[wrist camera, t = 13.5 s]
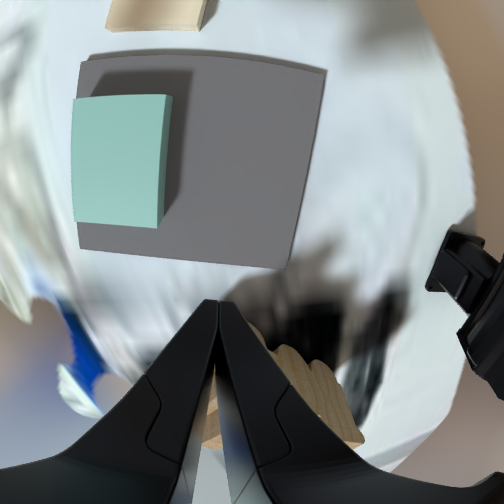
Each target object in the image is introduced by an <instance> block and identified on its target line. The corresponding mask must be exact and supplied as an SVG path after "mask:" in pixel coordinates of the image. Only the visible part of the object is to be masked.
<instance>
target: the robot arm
mask: <svg viewBox="0 0 504 504" xmlns="http://www.w3.org/2000/svg"><path fill="white" fill-rule="evenodd" d="M484 245H485V240H484V239H483V238H481V237H478V236H474V235H470V234H466V233H462V232H458V231H454V230H450V231H448V233H447V235H446V238H445V240H444V243H443V245H442V248H441V250H440V253H439V255H438V258H437V260H436V263H435V265H434V267H433V270H432V272H431V274H430V276H429V279H428V281H427V283H426V285H425V288H426V290H427V291H429V292H447V293H448V294H449V295H450V296H451V297H452V298H453V300H454V301H455V302H456V303H457V304H458V305H459V306H460V307H461V309H462V310H463V311H464V312H465V313H466V314H467V316H468V319H467V320H466V321H465V323H464V324H463V326H462V327H461V329H459V330H458V332H457V333H456V334H457V336H458V339H459V341H460V344H461V346H462V348H463V350H464V352H465V355H466V357H467V359H468V362H469V364H470V366H471V369H472V370H473V371H474V372H475V374H476V375H479V376H480V377H481V378H482V379H484V380H486V381H487V382H488V383H489V384H490V386H491V387H492V389H493V390H494V392H495V394H496V395H497V397H498V398H499V399H501V400H503V401H504V254H503V258H502V260H501V262H500V263H499V262H498V261H497V260H496V259H495V258H493V257H492V256H491V255H489V254H488V253H487V252H486V251H485V250H483V247H484ZM214 367H215V386H216V395H217V404H218V412H219V421H220V429H221V436H222V444H223V451H224V458H225V465H226V472H227V478H228V484H229V490H230V496H231V502H232V504H504V473H502V472H494V473H492V474H490V475H489V476H487V477H486V478H484V479H483V480H481V481H479V482H477V483H476V484H474V485H473V486H471V487H465V488H457V487H449V486H443V485H437V484H433V483H428V482H423V481H419V480H415V479H411V478H407V477H403V476H399V475H395V474H392V473H389V472H386V471H383V470H380V469H378V468H376V467H374V466H372V465H371V464H369V463H368V462H366V461H365V460H364V459H362V458H361V457H360V456H359V455H358V454H357V453H356V452H355V451H353V450H352V449H351V448H350V447H349V446H348V445H347V444H346V443H345V442H344V441H343V440H342V439H341V438H340V437H339V436H338V435H337V434H336V433H335V432H334V431H332V430H331V429H330V428H329V427H328V426H327V425H326V424H325V423H324V422H323V420H322V419H321V418H320V417H319V416H318V415H317V414H316V413H315V412H314V411H313V410H312V409H311V407H310V406H309V405H308V404H307V403H306V401H305V400H304V399H303V398H302V396H301V395H300V394H299V393H298V391H297V390H296V388H295V387H294V386H293V385H292V384H291V382H290V381H289V379H288V378H287V376H286V375H285V374H284V372H283V371H282V370H281V368H280V367H279V366H278V364H277V363H276V361H275V360H274V359H273V357H272V356H271V354H270V353H269V352H268V350H267V349H266V347H265V346H264V345H263V343H262V342H261V340H260V339H259V338H258V336H257V335H256V333H255V332H254V330H253V329H252V328H251V326H250V325H249V323H248V322H247V320H246V319H245V317H244V316H243V315H242V313H241V312H240V310H239V309H238V307H237V306H236V304H235V303H234V302H232V301H220V302H218V301H217V300H209V299H205V300H203V301H202V303H201V304H200V305H199V306H198V307H197V309H196V310H195V311H194V312H193V313H192V315H191V316H190V317H189V318H188V320H187V321H186V322H185V323H184V324H183V326H182V327H181V328H180V329H179V331H178V332H177V333H176V334H175V335H174V337H173V338H172V339H171V340H170V342H169V343H168V344H167V345H166V346H165V348H164V349H163V350H162V351H161V353H160V354H159V355H158V356H157V358H156V359H155V360H154V361H153V362H152V364H151V365H150V366H149V367H148V369H147V370H146V371H145V372H144V374H143V375H142V376H141V377H140V378H139V379H138V381H137V382H136V383H135V384H134V386H133V387H132V388H131V389H130V390H129V391H128V392H127V394H126V395H125V396H124V397H123V398H122V399H121V400H120V401H119V402H118V403H117V404H116V405H115V406H114V407H113V408H112V409H111V410H110V411H109V412H108V413H107V414H106V415H105V416H104V417H102V418H101V419H100V420H99V421H98V422H97V423H96V424H95V425H94V426H93V427H92V428H90V429H89V430H88V431H87V432H86V433H85V434H84V435H83V436H82V437H81V438H79V439H78V440H77V441H76V442H75V443H74V444H73V445H72V446H70V447H69V448H67V449H66V450H64V451H63V452H61V453H59V454H57V455H55V456H52V457H49V458H46V459H42V460H38V461H35V462H31V463H26V464H22V465H18V466H13V467H8V468H3V469H0V504H192V498H193V493H194V486H195V480H196V474H197V468H198V462H199V456H200V451H201V445H202V439H203V433H204V427H205V422H206V416H207V411H208V405H209V399H210V394H211V388H212V383H213V376H214ZM290 384H291V385H290Z"/></svg>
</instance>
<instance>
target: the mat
mask: <svg viewBox="0 0 504 504" xmlns="http://www.w3.org/2000/svg"><path fill="white" fill-rule="evenodd" d="M323 81H324V75H322V74H318V73H314V72H310V71H306V70H301V69H297V68H292V67H287V66H282V65H277V64H271V63H265V62H259V61H252V60H244V59H236V58H226V57H215V56H199V55H140V56H125V57H114V58H105V59H97V60H89V61H83V62H81V65H80V72H79V79H78V87H77V96H76V99H78V98H87V97H98V96H113V95H140V94H163V95H169V96H173V102H172V111H171V119H170V129H169V139H168V151H167V164H166V180H165V200H164V218H163V219H162V221H161V223H160V224H159V226H158V228H147V227H135V226H124V225H112V224H100V223H88V222H77V229H78V238H79V245H80V249H86V250H95V251H104V252H112V253H121V254H131V255H140V256H149V257H159V258H168V259H178V260H188V261H198V262H208V263H219V264H229V265H240V266H251V267H262V268H273V269H284V270H285V269H286V265H287V261H288V257H289V252H290V248H291V244H292V239H293V235H294V230H295V226H296V221H297V217H298V212H299V207H300V203H301V198H302V193H303V188H304V184H305V179H306V174H307V169H308V164H309V159H310V153H311V148H312V143H313V138H314V132H315V127H316V121H317V116H318V110H319V104H320V99H321V93H322V87H323Z"/></svg>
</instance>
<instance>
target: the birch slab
mask: <svg viewBox="0 0 504 504" xmlns="http://www.w3.org/2000/svg"><path fill="white" fill-rule="evenodd" d="M206 4H207V0H113V1H112V4H111V7H110V10H109V14H108V17H107V21H106V24H105V28H106V29H108V30H110V31H111V32H113V33H117V32H130V31H155V30H172V31H197V32H199V31H200V27H201V23H202V19H203V15H204V11H205V8H206Z"/></svg>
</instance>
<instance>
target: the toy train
mask: <svg viewBox="0 0 504 504" xmlns="http://www.w3.org/2000/svg"><path fill="white" fill-rule="evenodd" d="M248 323H249V322H248ZM249 325H250V326H251V328H252V329H253V330H254V332H255V333H256V335H257V336H258V338H259V339H260V340H261V342H262V343H263V345H264V346H265V347H266V345H265V341H264V339H263V337H262V335H261V333H260V332H259V331H258V330H257V329H256V328H255V327H254V326H253V325H252V324H251V323H249ZM266 349H267V348H266ZM267 350H268V349H267ZM268 352H269V353H270V354H271V356H272V357H273V359H274V360H275V361H276V363H277V364H278V366H279V367H280V368H281V370H282V371H283V372H284V374H285V375H286V376H287V378H288V379H289V381H290V382H291V384H292V385H293V386H294V387H295V388H296V390H297V391H298V393H299V394H300V395H301V396H302V398H303V399H304V400H305V401H306V403H307V404H308V405H309V406H310V407H311V409H312V410H313V411H314V412H315V413H316V414H317V415H318V416H319V417H320V418H321V419H322V420H323V422H324V423H325V424H326V425H327V426H328V427H329V428H330V429H331V430H332V431H334V432H335V433H336V434H337V435H338V436H339V437H340V438H341V439H342V440H343V441H344V442H345V443H346V444H347V445H348V446H349V447H350V448H351V449H354V448H356V447H358V446H360V445H362V444H364V442H365V439H364V436H363V434H362V433H361V432H360V430H359V429H358V428H357V427H356V426H355V423H354V420H353V417H352V414H351V411H350V408H349V405H348V402H347V399H346V397H345V394H344V391H343V388H342V387H341V385H340V384H339V383H338V382H337V380H336V377H335V376H334V374H333V372H332V371H331V369H330V368H329V367H328V366H327V365H326V364H324V363H323V362H321V361H319V360H313V361H312V362H310V363H309V364H308V365H307V364H306V362H305V361H304V360H303V358H302V357H301V356H300V354H299V353H298V352H297V351H296V350H295V349H293V348H292V347H290V346H288V345H285V344H282V345H280V346H279V347H278V348H277V349H276V350H274V351H273V352H271V351H269V350H268ZM291 384H290V385H291ZM202 446H205V447H208V448H211V449H215V450H218V449H220V448H222V447H223V444H222V436H221V429H220V421H219V412H218V404H217V395H216V386H215V367H214V376H213V383H212V388H211V394H210V399H209V405H208V411H207V416H206V422H205V427H204V433H203V439H202Z"/></svg>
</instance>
